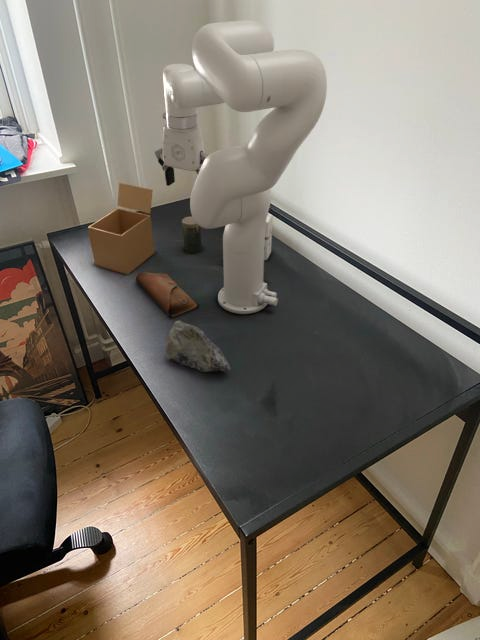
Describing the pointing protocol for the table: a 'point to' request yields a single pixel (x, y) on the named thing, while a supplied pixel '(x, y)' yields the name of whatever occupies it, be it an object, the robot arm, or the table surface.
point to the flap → (135, 197)
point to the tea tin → (191, 235)
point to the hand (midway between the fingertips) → (186, 187)
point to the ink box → (268, 236)
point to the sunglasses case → (166, 293)
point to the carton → (121, 240)
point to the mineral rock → (194, 349)
